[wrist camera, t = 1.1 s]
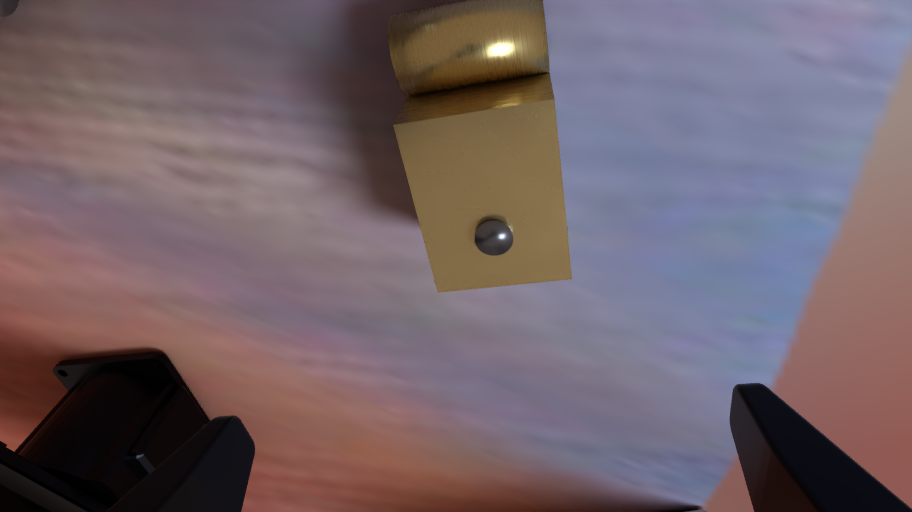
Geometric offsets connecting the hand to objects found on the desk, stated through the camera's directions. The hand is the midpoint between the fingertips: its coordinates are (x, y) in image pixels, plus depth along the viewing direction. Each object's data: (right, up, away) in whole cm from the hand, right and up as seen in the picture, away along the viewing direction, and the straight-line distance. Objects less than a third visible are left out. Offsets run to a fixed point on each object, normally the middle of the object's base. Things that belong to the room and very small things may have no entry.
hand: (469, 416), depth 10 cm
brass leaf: (+1, +8, +9) cm, 12 cm away
